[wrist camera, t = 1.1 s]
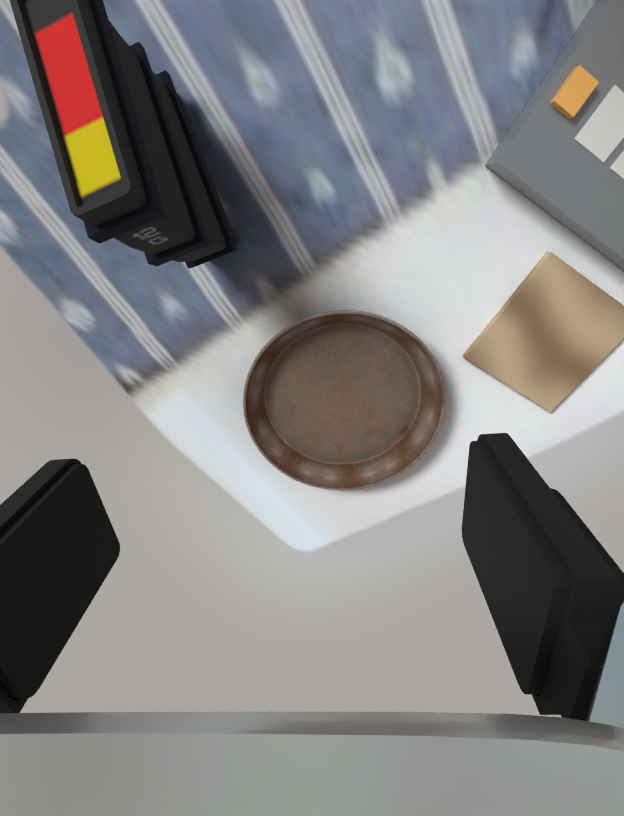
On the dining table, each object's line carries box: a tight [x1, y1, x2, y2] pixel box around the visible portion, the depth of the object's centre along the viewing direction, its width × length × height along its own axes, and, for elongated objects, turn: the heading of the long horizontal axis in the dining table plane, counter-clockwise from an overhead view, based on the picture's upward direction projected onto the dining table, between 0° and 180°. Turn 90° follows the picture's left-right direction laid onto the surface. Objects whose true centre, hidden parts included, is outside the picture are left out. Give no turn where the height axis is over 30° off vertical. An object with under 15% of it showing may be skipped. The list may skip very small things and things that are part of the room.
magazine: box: [10, 0, 237, 268], centre depth 25 cm, size 4×13×15 cm, turn 20°
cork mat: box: [463, 252, 624, 412], centre depth 34 cm, size 10×10×1 cm
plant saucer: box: [243, 310, 445, 490], centre depth 37 cm, size 18×18×3 cm
